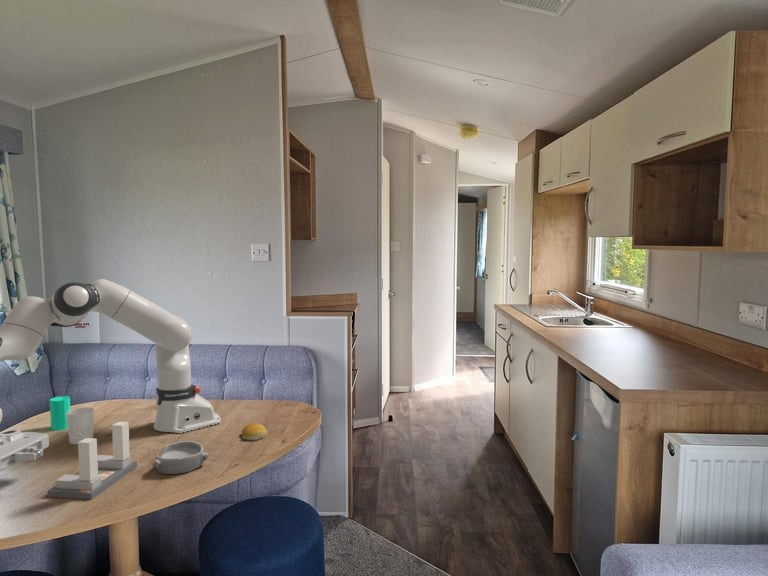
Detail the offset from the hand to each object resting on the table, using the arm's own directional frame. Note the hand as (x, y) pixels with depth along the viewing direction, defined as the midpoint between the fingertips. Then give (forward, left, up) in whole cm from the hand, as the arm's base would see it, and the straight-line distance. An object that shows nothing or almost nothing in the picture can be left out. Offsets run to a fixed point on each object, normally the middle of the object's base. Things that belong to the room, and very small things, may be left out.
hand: (38, 454), depth 137 cm
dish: (-35, +4, -10) cm, 36 cm away
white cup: (-12, -33, -9) cm, 36 cm away
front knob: (-11, +9, -5) cm, 15 cm away
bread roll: (-61, -8, -10) cm, 62 cm away
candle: (-7, -51, -9) cm, 53 cm away
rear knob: (-19, -1, -5) cm, 20 cm away
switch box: (-13, +2, -9) cm, 16 cm away
